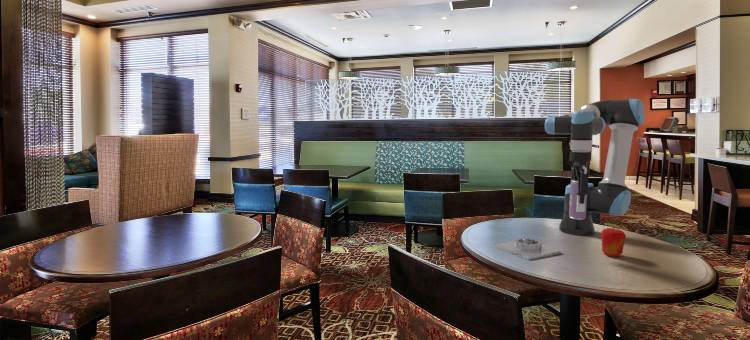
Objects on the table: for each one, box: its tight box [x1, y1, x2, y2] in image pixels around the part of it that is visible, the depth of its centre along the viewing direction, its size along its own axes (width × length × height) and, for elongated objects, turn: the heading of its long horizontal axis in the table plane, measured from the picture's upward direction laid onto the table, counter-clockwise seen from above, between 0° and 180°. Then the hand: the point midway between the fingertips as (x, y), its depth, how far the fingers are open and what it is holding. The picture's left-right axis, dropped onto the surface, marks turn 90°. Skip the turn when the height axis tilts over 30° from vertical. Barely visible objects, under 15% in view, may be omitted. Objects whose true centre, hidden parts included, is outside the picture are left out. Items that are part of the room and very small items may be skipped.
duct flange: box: [494, 237, 563, 261], centre depth 168 cm, size 18×18×4 cm
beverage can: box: [569, 179, 587, 220], centre depth 162 cm, size 6×6×15 cm
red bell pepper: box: [600, 226, 627, 258], centre depth 161 cm, size 9×8×12 cm
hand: (577, 209), depth 162 cm, fingers closed on beverage can, 6 cm apart
